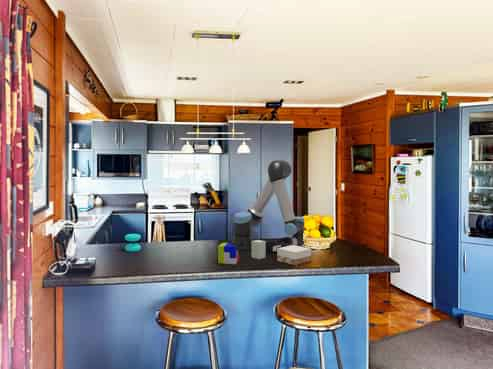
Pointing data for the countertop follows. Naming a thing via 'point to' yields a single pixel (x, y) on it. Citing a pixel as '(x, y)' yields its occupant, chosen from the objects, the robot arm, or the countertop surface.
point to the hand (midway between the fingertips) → (265, 247)
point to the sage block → (258, 249)
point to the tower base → (293, 260)
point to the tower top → (294, 252)
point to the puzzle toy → (228, 253)
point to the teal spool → (132, 246)
